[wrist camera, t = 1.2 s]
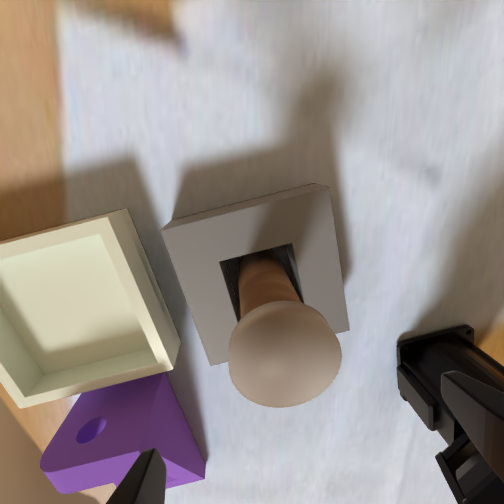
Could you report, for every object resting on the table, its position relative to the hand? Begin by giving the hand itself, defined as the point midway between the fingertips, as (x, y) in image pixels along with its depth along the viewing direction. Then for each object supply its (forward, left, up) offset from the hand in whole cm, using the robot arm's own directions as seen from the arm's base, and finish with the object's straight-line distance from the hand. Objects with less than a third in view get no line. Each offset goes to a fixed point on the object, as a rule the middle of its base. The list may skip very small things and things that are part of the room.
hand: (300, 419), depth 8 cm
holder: (0, 0, -12) cm, 12 cm away
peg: (0, 0, -12) cm, 12 cm away
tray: (+13, -1, -12) cm, 18 cm away
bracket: (+13, +13, -13) cm, 22 cm away
